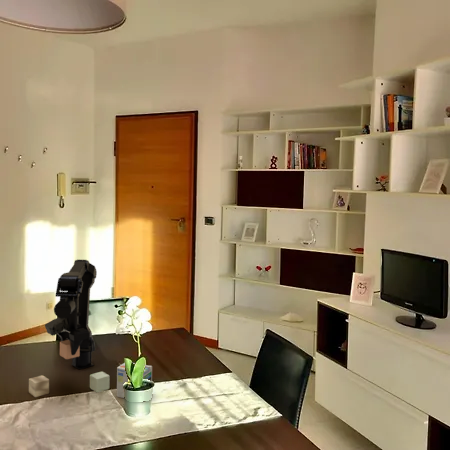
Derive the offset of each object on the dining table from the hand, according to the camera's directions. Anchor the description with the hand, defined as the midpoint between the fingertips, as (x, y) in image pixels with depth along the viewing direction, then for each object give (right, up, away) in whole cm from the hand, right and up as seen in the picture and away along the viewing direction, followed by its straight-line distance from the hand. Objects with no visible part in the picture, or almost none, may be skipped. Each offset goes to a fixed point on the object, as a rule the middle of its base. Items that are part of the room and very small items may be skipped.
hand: (69, 352), depth 187 cm
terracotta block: (0, -1, 0) cm, 1 cm away
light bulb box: (+23, -15, -3) cm, 28 cm away
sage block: (+10, -13, +2) cm, 17 cm away
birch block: (-10, -13, -3) cm, 17 cm away
